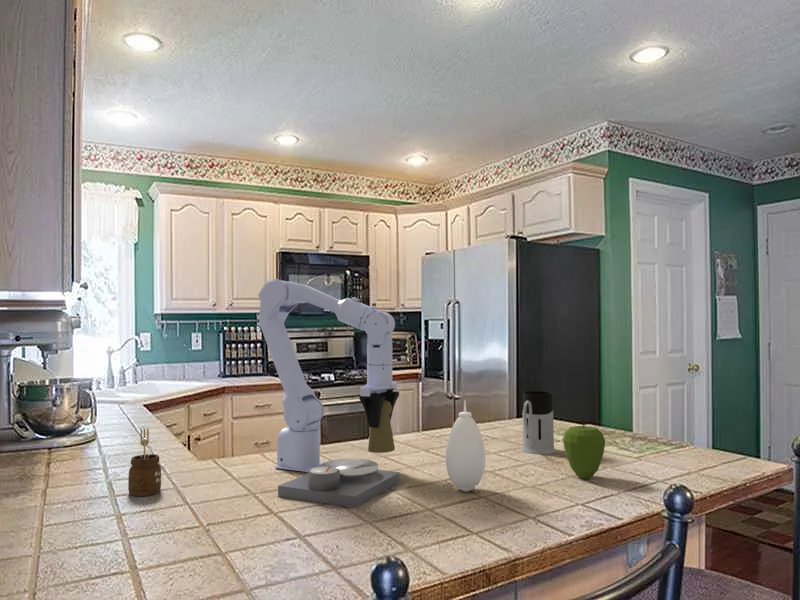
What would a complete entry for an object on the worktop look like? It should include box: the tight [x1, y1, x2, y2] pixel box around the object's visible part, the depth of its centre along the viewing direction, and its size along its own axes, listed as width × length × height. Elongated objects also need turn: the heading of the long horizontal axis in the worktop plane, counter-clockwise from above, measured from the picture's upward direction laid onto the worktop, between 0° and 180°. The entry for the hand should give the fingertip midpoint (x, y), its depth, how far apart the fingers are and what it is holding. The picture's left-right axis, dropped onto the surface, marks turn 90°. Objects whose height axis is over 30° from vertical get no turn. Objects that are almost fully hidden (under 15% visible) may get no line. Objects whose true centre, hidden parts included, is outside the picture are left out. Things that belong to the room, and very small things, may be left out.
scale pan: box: [320, 458, 379, 478], centre depth 120 cm, size 12×12×1 cm
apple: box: [562, 424, 606, 480], centre depth 125 cm, size 9×8×12 cm
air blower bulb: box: [445, 399, 486, 493], centre depth 116 cm, size 8×8×18 cm
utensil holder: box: [127, 428, 162, 497], centre depth 115 cm, size 6×6×12 cm
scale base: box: [277, 467, 401, 509], centre depth 117 cm, size 17×19×5 cm
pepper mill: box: [367, 400, 396, 454], centre depth 130 cm, size 6×6×11 cm
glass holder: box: [520, 390, 556, 455], centre depth 150 cm, size 9×14×15 cm, turn 148°
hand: (379, 425), depth 130 cm, fingers closed on pepper mill, 5 cm apart
